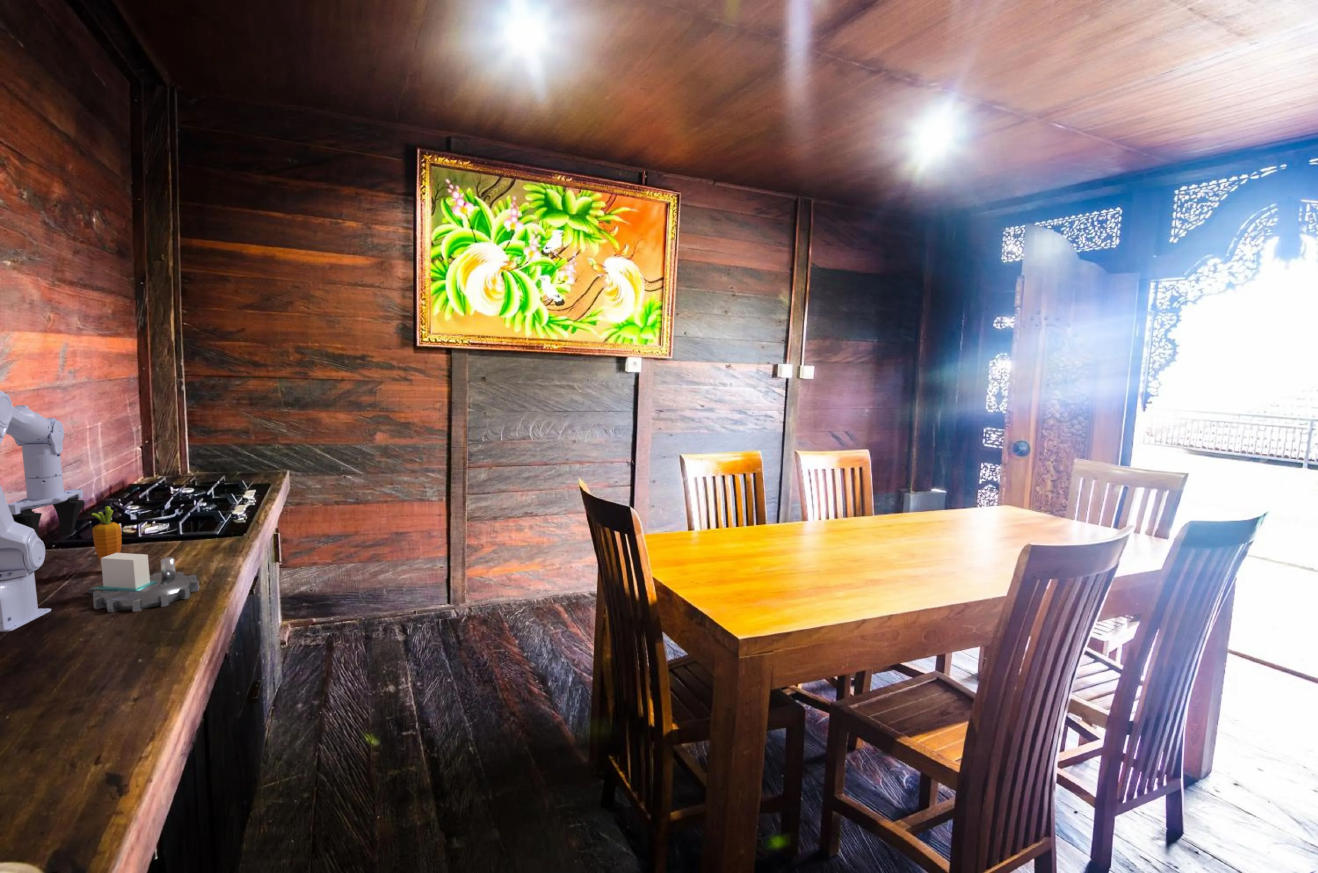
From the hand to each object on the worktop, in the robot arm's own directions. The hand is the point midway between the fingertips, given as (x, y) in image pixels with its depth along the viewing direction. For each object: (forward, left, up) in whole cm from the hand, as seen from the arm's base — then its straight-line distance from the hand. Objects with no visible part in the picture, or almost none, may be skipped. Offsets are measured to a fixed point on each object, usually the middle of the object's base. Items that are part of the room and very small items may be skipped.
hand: (50, 539), depth 140 cm
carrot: (+9, -5, -11) cm, 15 cm away
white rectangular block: (-5, -18, -8) cm, 20 cm away
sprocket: (-6, -22, -10) cm, 25 cm away
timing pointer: (-4, -11, -10) cm, 16 cm away
